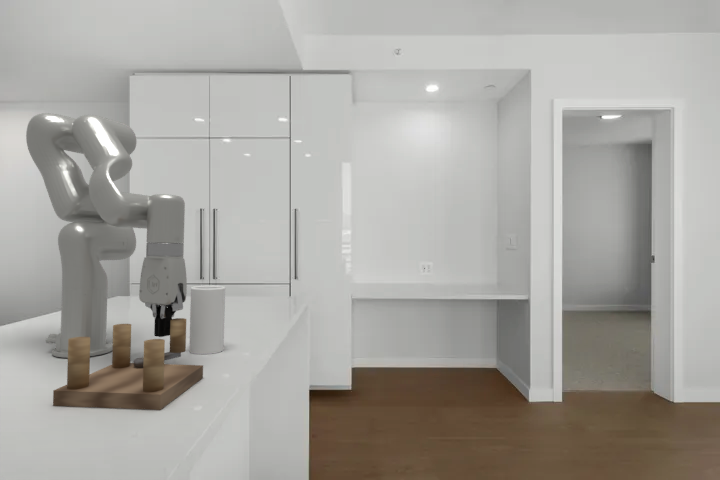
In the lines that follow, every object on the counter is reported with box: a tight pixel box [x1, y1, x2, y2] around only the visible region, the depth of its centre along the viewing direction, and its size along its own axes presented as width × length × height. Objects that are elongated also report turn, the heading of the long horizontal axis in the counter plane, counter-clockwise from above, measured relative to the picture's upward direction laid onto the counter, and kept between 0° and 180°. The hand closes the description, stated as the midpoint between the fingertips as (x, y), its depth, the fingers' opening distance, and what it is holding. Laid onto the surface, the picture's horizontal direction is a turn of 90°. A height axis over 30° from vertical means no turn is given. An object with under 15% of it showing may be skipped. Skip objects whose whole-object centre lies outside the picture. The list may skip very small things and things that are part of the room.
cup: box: [188, 285, 226, 355], centre depth 116 cm, size 8×8×16 cm
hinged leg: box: [133, 317, 187, 367], centre depth 95 cm, size 12×3×8 cm, turn 154°
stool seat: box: [52, 323, 204, 411], centre depth 84 cm, size 18×18×11 cm
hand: (162, 335), depth 100 cm, fingers closed
